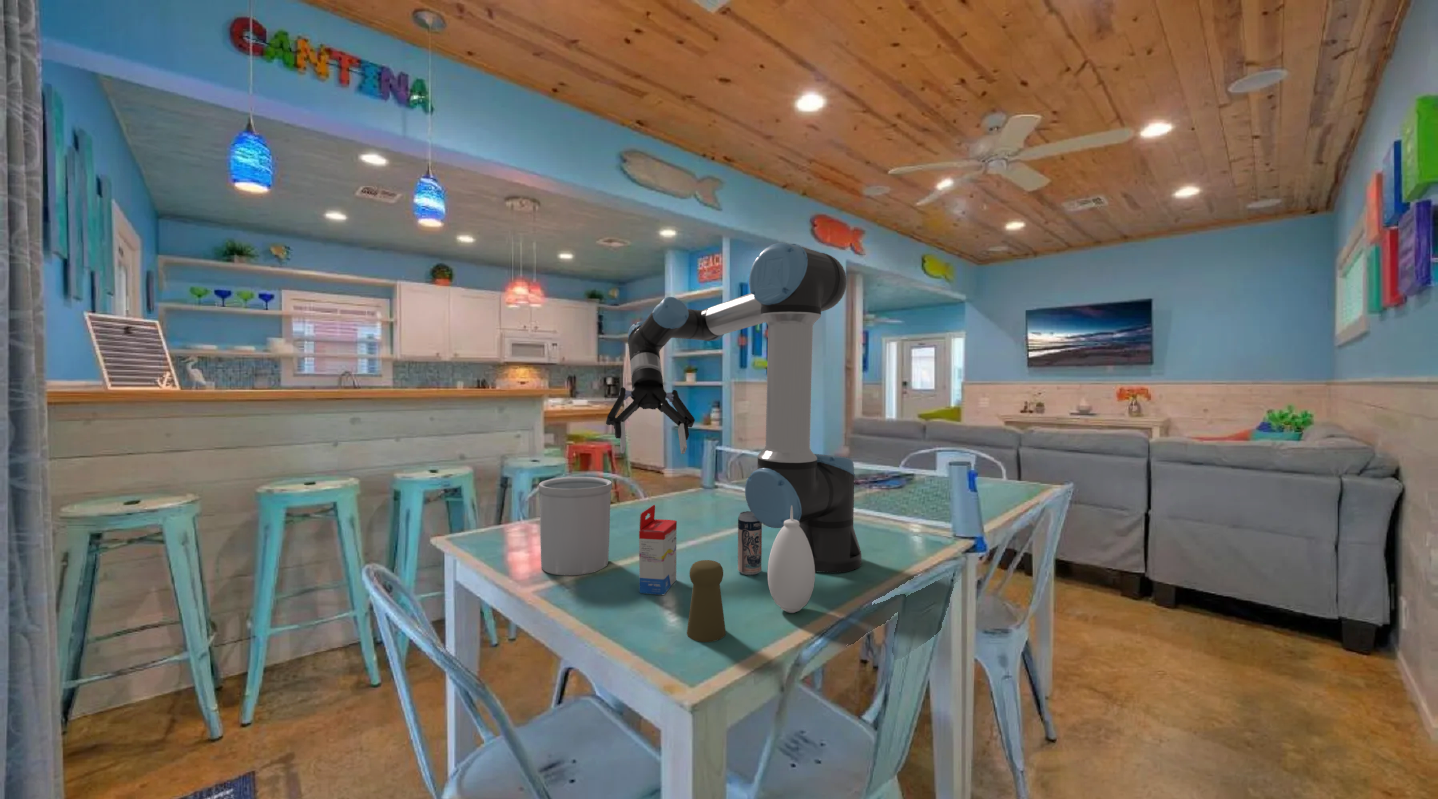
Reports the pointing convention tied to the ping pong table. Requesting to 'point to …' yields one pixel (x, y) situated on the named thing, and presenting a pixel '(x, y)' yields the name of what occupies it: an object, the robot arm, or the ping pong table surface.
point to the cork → (706, 602)
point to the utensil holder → (574, 524)
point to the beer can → (749, 544)
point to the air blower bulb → (791, 567)
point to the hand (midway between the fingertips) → (654, 450)
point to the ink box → (656, 553)
